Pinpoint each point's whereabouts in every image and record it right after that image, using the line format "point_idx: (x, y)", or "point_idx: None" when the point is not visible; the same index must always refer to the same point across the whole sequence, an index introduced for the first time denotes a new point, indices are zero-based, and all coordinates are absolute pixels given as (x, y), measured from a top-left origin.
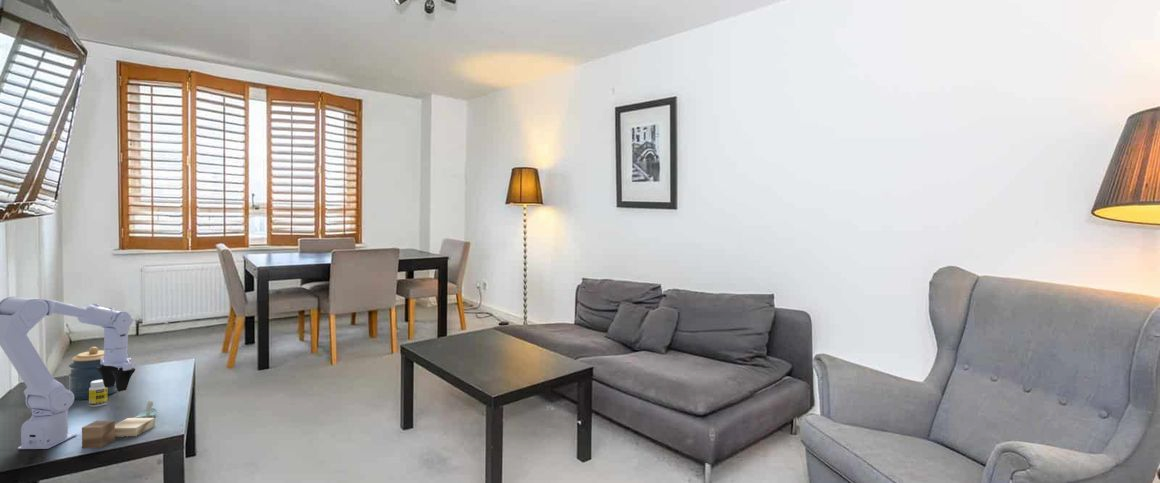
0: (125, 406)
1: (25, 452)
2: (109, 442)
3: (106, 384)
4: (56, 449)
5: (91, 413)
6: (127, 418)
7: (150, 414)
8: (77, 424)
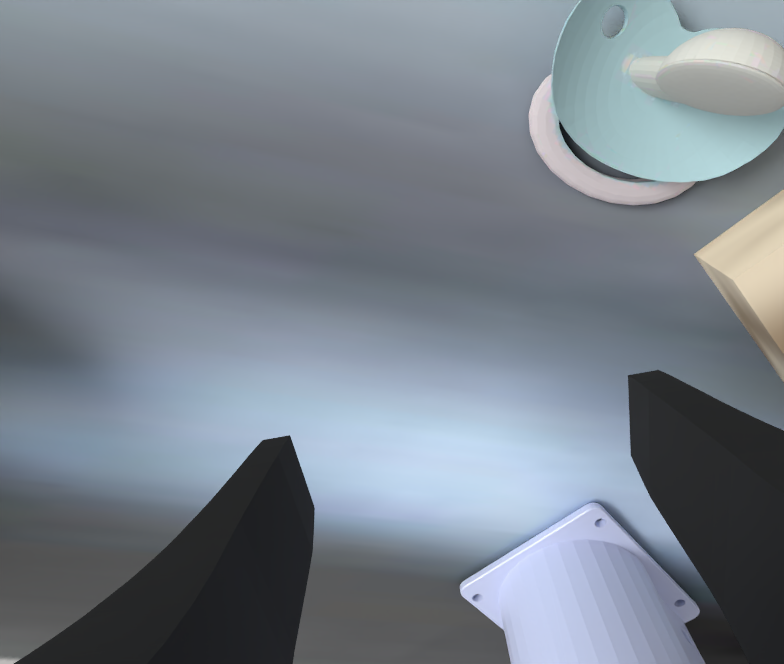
0: (82, 136)
1: None
2: None
3: (308, 541)
4: None
5: (130, 367)
6: (747, 283)
7: (637, 51)
8: (350, 463)
